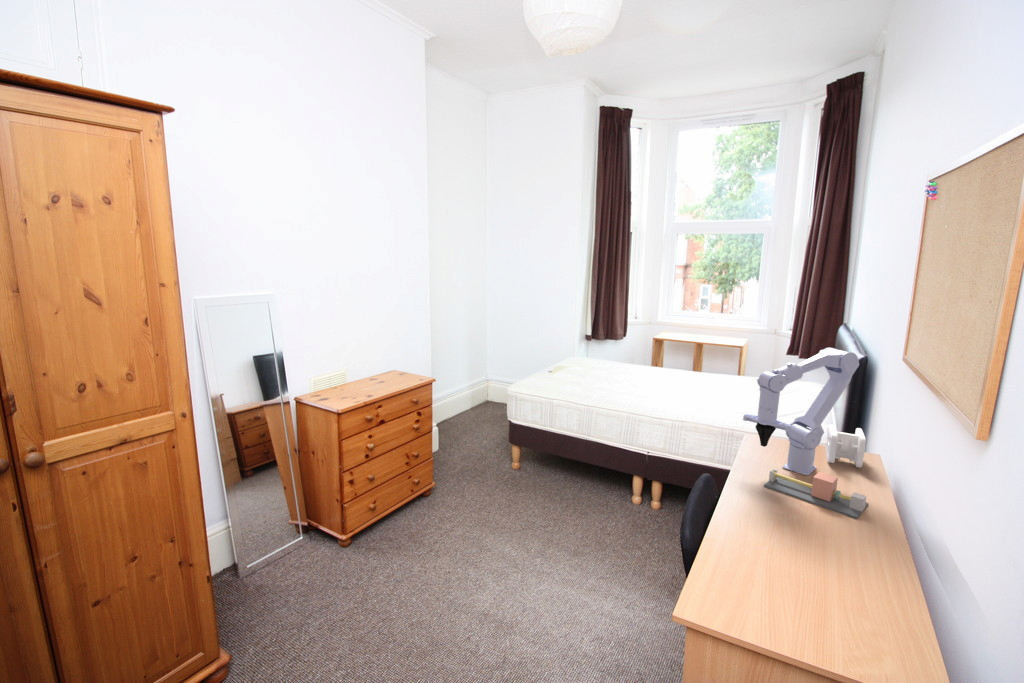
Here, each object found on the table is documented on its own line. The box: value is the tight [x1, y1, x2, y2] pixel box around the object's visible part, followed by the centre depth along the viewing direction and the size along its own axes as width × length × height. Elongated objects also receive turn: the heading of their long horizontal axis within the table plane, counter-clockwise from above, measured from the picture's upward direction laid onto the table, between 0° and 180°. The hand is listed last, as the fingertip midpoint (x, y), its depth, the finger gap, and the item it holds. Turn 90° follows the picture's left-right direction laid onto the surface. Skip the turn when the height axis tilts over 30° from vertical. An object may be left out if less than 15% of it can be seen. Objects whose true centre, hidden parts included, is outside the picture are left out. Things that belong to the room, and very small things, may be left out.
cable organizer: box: [825, 424, 867, 468], centre depth 169 cm, size 15×11×12 cm
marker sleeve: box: [811, 471, 839, 502], centre depth 142 cm, size 6×5×6 cm
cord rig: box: [763, 468, 869, 520], centre depth 144 cm, size 12×25×4 cm, turn 42°
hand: (763, 445), depth 159 cm, fingers closed
